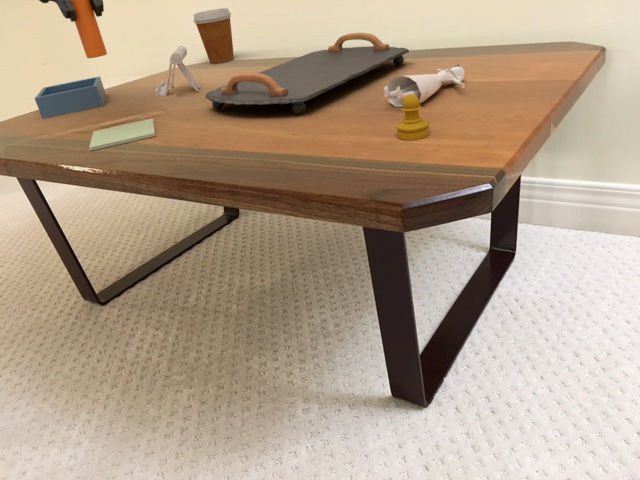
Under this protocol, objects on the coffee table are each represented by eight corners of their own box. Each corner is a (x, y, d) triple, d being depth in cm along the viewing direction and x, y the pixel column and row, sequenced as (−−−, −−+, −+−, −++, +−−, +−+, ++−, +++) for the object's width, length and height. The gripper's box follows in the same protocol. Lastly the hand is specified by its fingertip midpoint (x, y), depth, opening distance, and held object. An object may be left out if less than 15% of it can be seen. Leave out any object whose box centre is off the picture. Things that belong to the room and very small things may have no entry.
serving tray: (325, 61, 118) (321, 31, 115) (420, 60, 105) (418, 26, 102) (193, 115, 92) (183, 79, 90) (297, 123, 79) (289, 80, 76)
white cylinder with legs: (164, 91, 115) (153, 50, 111) (201, 85, 115) (191, 44, 111) (158, 101, 107) (145, 57, 103) (197, 94, 108) (186, 50, 104)
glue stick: (85, 59, 80) (60, -14, 76) (87, 56, 83) (63, -15, 78) (107, 55, 81) (83, -18, 76) (108, 52, 84) (85, -18, 79)
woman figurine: (359, 77, 79) (430, 57, 90) (361, 108, 80) (430, 84, 92) (426, 81, 71) (495, 58, 82) (426, 115, 73) (493, 88, 84)
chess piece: (410, 127, 70) (408, 89, 67) (435, 131, 67) (433, 91, 64) (390, 137, 67) (387, 97, 65) (415, 141, 65) (412, 100, 62)
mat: (90, 151, 82) (88, 147, 82) (94, 134, 91) (93, 131, 91) (155, 136, 84) (154, 132, 84) (153, 121, 93) (153, 118, 93)
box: (44, 122, 105) (34, 98, 103) (52, 110, 115) (43, 87, 113) (104, 109, 108) (96, 85, 105) (107, 98, 118) (100, 76, 115)
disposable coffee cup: (197, 67, 137) (185, 16, 131) (212, 59, 145) (201, 11, 139) (232, 63, 134) (221, 11, 129) (245, 55, 142) (235, 6, 137)
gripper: (-19, -90, 75) (31, 3, 71) (83, -101, 81) (134, -15, 78) (-7, -44, 81) (40, 43, 78) (87, -57, 88) (134, 23, 84)
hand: (86, 14), depth 78 cm, fingers closed on glue stick, 3 cm apart
